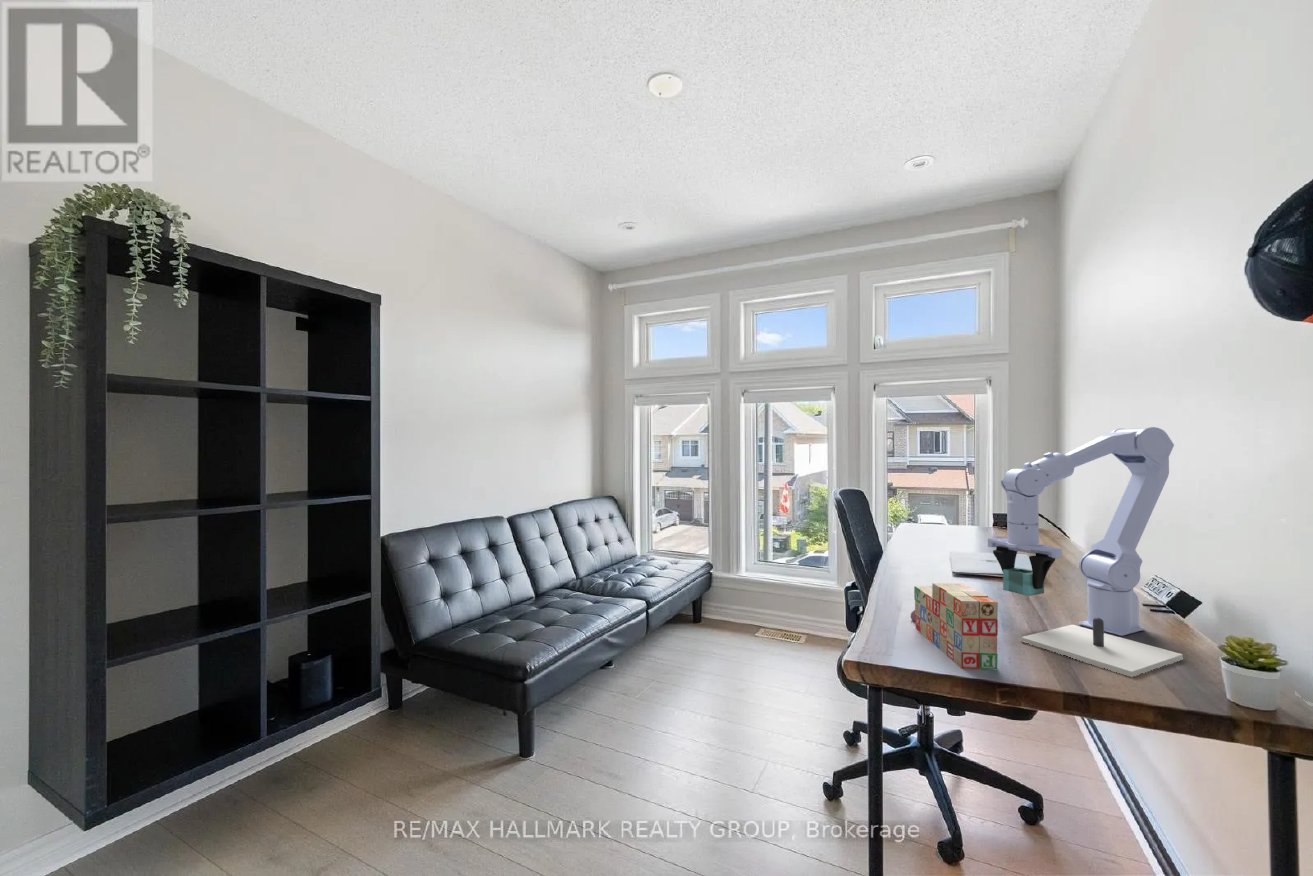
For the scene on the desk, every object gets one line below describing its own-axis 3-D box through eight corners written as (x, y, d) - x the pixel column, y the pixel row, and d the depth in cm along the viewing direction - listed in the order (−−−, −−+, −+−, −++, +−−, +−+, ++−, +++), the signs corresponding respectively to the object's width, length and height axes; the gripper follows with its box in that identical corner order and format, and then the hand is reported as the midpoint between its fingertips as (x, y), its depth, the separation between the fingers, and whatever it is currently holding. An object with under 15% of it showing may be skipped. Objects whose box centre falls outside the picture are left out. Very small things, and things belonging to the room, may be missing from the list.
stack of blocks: (914, 628, 115) (913, 571, 115) (944, 629, 114) (943, 572, 115) (961, 669, 94) (961, 599, 94) (998, 671, 93) (998, 600, 93)
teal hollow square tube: (1018, 587, 120) (1018, 567, 120) (1044, 593, 115) (1043, 572, 115) (1003, 589, 118) (1003, 569, 118) (1028, 596, 113) (1028, 575, 113)
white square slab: (1072, 629, 114) (1072, 599, 114) (1182, 659, 98) (1182, 625, 98) (1021, 642, 106) (1020, 610, 107) (1131, 677, 90) (1131, 640, 90)
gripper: (978, 520, 122) (979, 579, 121) (1047, 529, 108) (1048, 595, 108) (998, 518, 125) (999, 576, 124) (1067, 526, 111) (1068, 591, 111)
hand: (1023, 585), depth 116 cm, fingers closed on teal hollow square tube, 5 cm apart
